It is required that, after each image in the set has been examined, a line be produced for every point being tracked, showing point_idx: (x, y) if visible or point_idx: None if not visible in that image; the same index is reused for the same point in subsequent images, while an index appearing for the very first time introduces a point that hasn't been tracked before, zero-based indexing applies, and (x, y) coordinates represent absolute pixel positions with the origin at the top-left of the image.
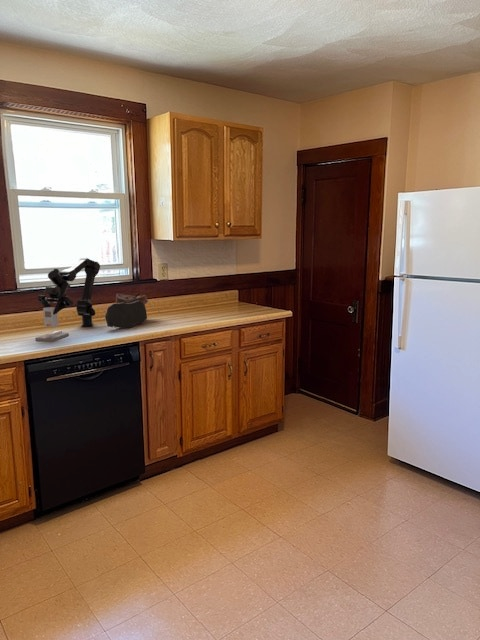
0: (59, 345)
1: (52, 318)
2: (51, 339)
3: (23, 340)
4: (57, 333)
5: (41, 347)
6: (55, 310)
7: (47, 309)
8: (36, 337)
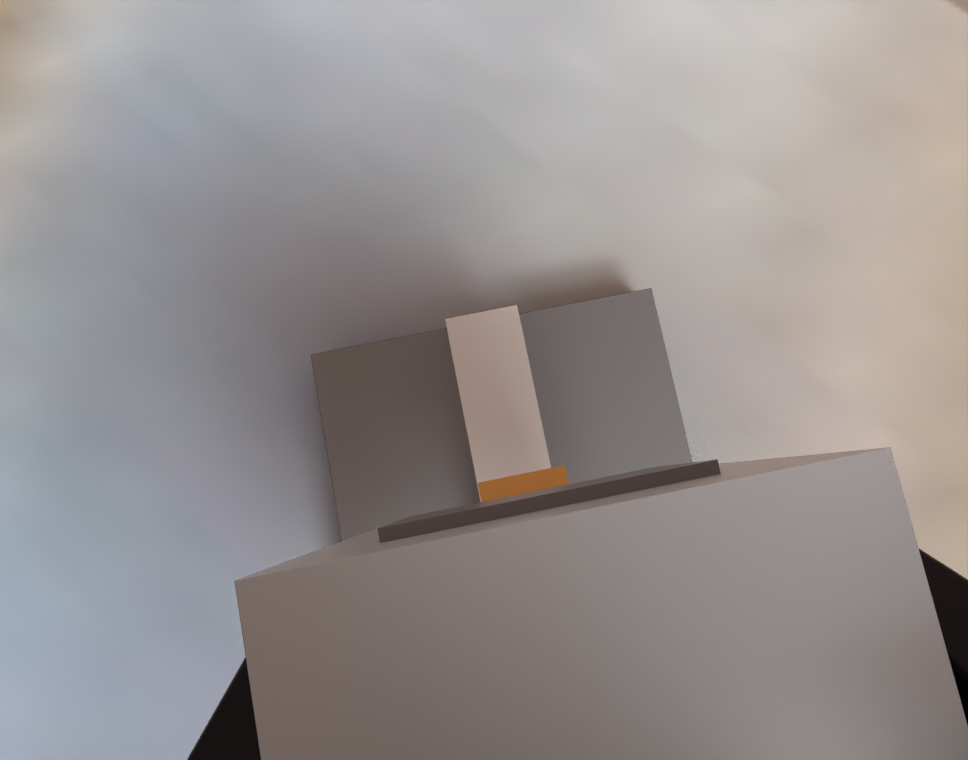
0: (32, 251)
1: (368, 533)
2: (319, 354)
3: (830, 219)
4: None
5: (199, 51)
6: (202, 736)
7: (571, 513)
8: (651, 310)
